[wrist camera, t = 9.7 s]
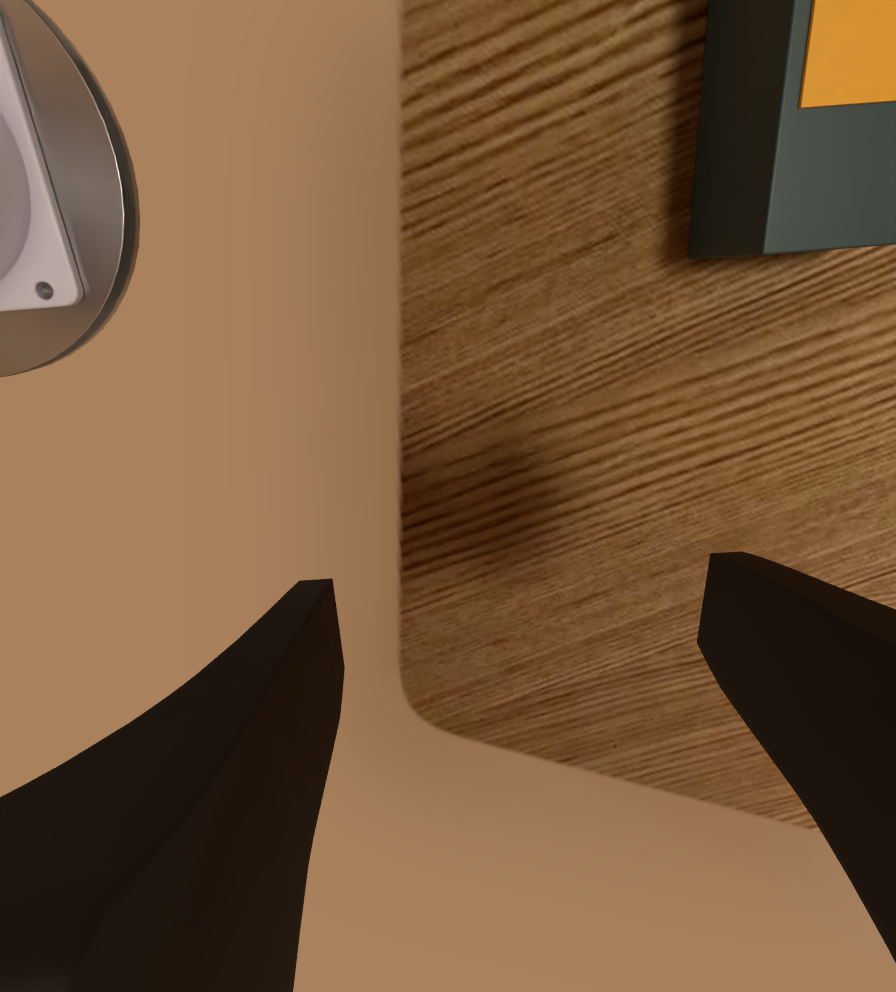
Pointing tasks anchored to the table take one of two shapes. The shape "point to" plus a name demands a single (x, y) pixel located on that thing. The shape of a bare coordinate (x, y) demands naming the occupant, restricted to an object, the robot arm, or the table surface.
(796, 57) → the packet
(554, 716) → the table surface
